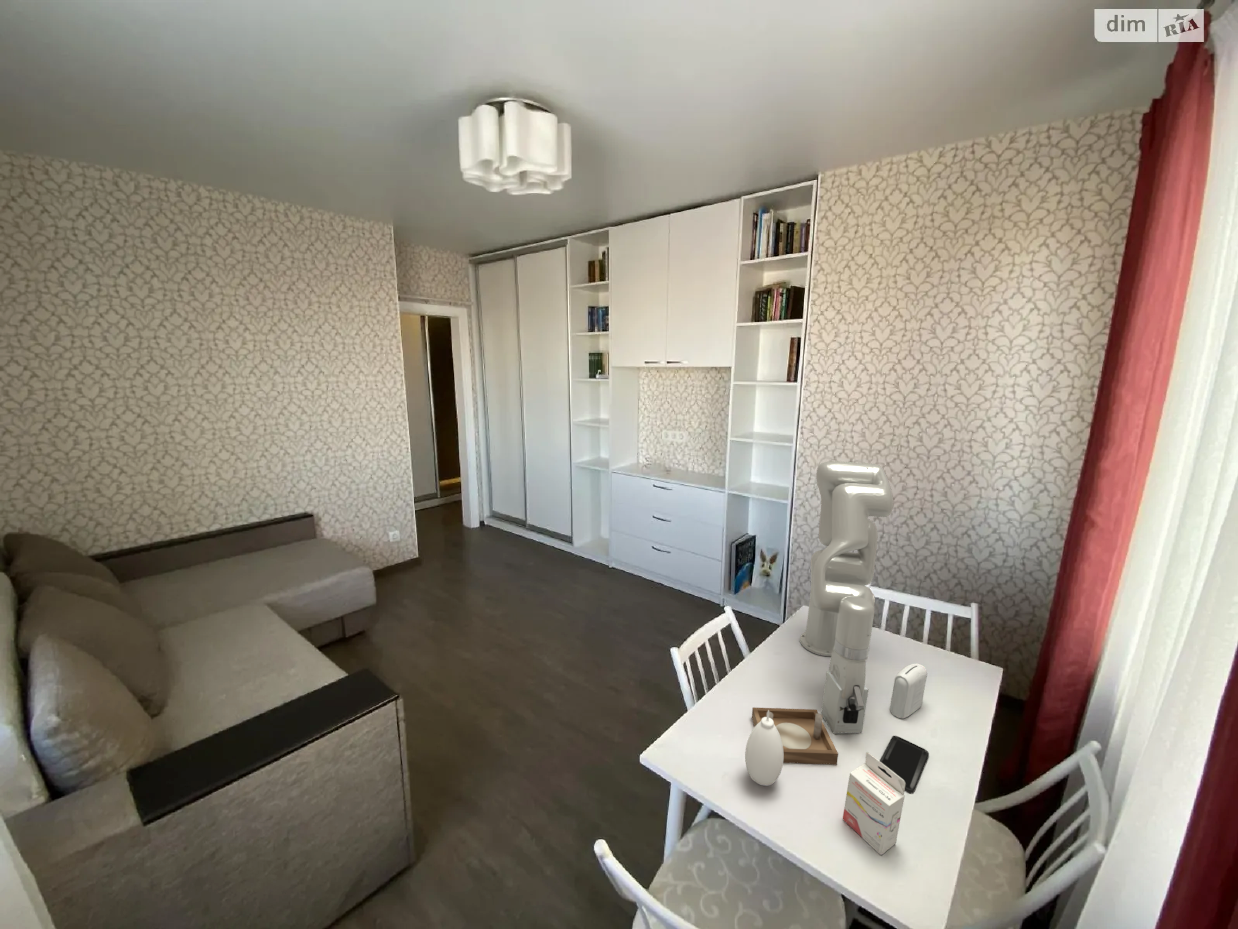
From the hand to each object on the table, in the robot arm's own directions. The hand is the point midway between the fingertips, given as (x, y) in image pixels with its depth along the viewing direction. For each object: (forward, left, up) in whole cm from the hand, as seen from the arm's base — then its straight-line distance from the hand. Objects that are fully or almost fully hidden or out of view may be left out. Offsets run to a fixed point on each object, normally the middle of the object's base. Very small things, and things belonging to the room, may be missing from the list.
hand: (842, 709), depth 125 cm
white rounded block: (-6, +19, -4) cm, 20 cm away
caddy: (+6, -14, -4) cm, 16 cm away
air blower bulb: (+18, -24, -4) cm, 30 cm away
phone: (+12, +9, -5) cm, 16 cm away
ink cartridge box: (+29, -6, -4) cm, 30 cm away
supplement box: (0, 0, -4) cm, 4 cm away
